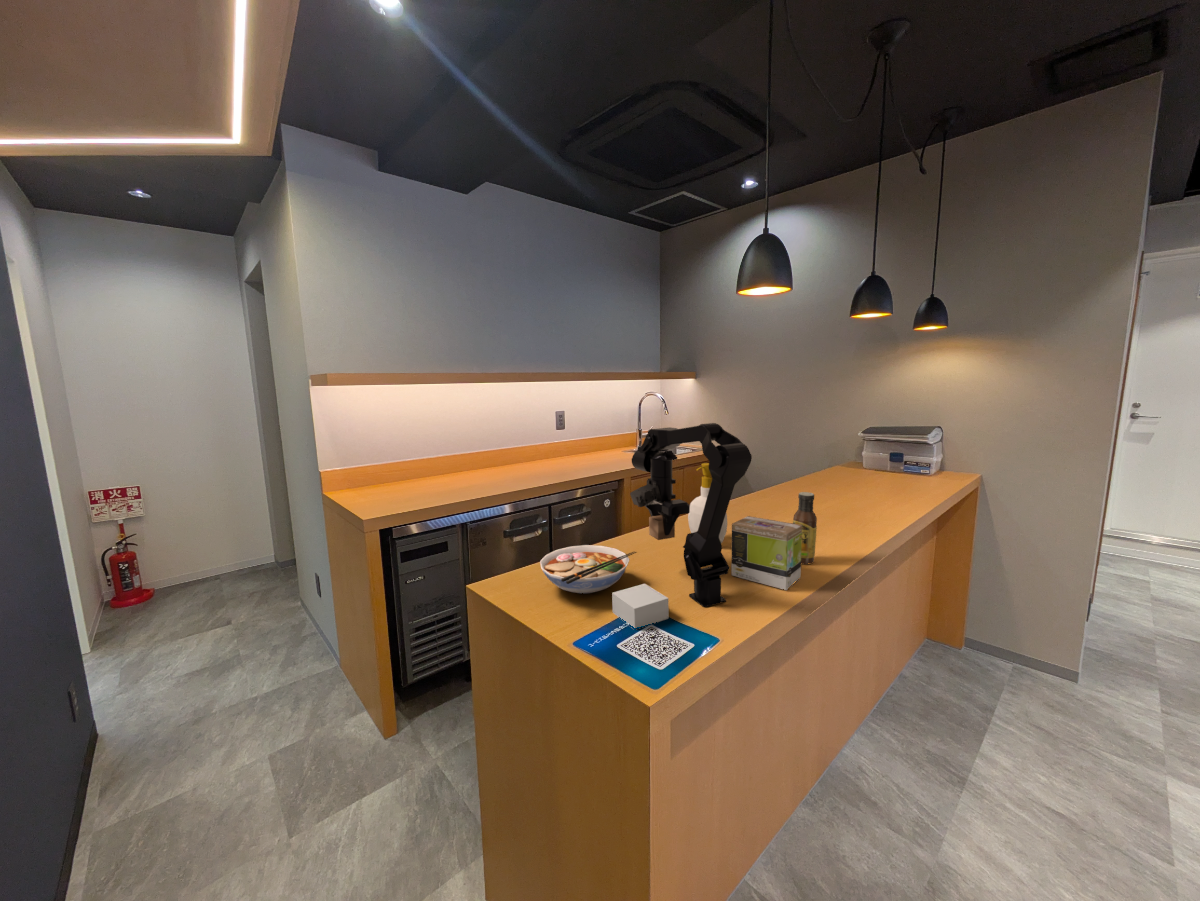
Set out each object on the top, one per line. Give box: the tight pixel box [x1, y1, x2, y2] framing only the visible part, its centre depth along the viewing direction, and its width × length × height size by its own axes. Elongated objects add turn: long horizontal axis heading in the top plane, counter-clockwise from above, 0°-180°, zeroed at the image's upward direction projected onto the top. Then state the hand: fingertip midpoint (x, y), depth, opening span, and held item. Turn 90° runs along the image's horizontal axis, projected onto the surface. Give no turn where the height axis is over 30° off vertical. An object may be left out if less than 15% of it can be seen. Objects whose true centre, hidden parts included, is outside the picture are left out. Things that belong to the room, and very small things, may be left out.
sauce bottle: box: [792, 491, 818, 565], centre depth 132 cm, size 6×6×20 cm
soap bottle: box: [687, 462, 728, 544], centre depth 148 cm, size 14×9×26 cm, turn 36°
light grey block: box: [611, 583, 669, 628], centre depth 105 cm, size 9×9×5 cm
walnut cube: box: [648, 515, 676, 541], centre depth 126 cm, size 5×5×5 cm
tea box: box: [731, 515, 802, 591], centre depth 122 cm, size 15×10×15 cm
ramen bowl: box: [539, 544, 637, 595], centre depth 120 cm, size 25×23×8 cm
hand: (661, 532), depth 126 cm, fingers closed on walnut cube, 5 cm apart
